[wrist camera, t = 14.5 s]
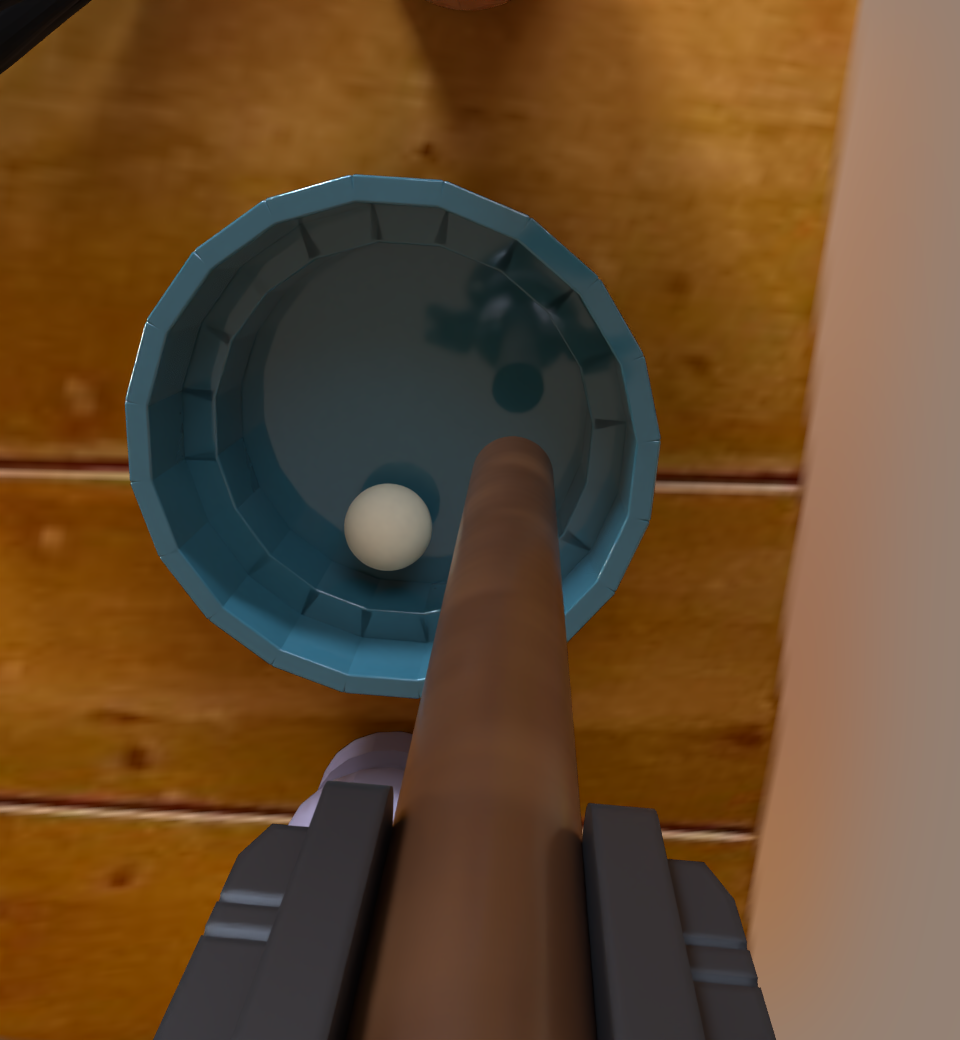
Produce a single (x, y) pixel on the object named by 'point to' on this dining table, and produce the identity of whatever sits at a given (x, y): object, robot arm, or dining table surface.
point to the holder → (468, 4)
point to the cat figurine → (363, 768)
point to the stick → (488, 796)
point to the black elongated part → (30, 24)
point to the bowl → (377, 414)
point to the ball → (388, 527)
